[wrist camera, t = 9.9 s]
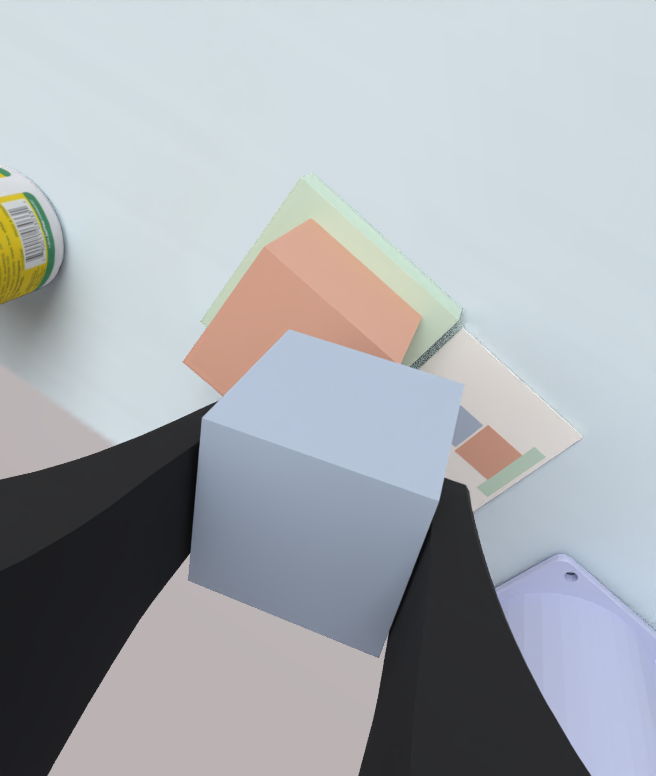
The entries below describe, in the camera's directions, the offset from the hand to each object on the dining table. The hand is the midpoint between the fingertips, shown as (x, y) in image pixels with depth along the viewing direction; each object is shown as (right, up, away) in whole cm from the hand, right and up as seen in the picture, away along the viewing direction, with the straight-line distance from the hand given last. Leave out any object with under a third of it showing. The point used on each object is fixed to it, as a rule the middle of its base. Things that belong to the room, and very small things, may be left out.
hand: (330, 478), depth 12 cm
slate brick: (+1, +1, +2) cm, 2 cm away
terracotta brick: (0, +4, +9) cm, 10 cm away
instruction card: (+5, 0, +10) cm, 12 cm away
